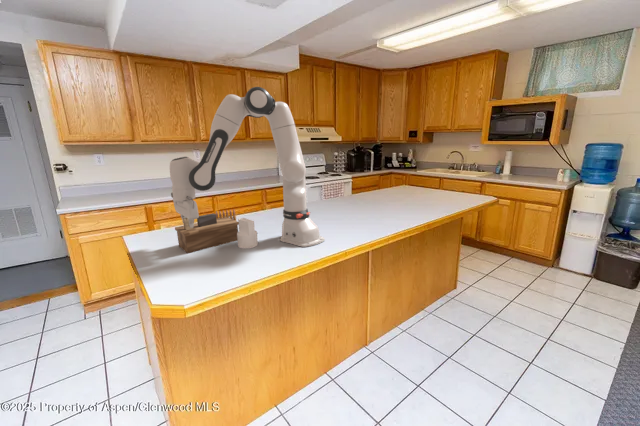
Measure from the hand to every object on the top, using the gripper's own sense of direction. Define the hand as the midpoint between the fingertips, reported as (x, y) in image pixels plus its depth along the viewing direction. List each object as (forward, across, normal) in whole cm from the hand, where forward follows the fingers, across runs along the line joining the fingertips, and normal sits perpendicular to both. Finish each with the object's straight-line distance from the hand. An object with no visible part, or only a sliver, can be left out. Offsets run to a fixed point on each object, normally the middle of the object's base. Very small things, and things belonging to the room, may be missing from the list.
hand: (188, 225), depth 131 cm
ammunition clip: (+11, +11, -22) cm, 27 cm away
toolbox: (+11, 0, -8) cm, 14 cm away
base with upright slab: (+11, -15, -20) cm, 28 cm away
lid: (+3, 0, -8) cm, 9 cm away
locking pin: (+7, 0, 0) cm, 7 cm away
